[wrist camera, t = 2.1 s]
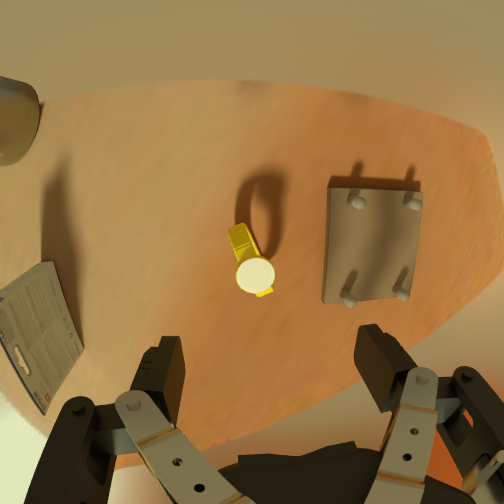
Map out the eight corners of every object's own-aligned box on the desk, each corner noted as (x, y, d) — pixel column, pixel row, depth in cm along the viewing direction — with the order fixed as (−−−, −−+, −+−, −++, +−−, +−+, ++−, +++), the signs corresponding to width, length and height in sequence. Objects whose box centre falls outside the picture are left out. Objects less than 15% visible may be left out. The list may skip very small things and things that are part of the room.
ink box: (39, 260, 25) (-29, 308, 14) (54, 258, 25) (-14, 308, 14) (70, 350, 29) (28, 415, 18) (86, 351, 29) (45, 419, 18)
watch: (220, 225, 26) (217, 245, 20) (249, 212, 25) (255, 227, 20) (249, 283, 27) (254, 315, 22) (276, 271, 27) (288, 300, 22)
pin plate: (321, 299, 28) (330, 314, 26) (327, 187, 25) (339, 190, 22) (405, 291, 29) (419, 303, 26) (417, 191, 26) (434, 195, 23)
